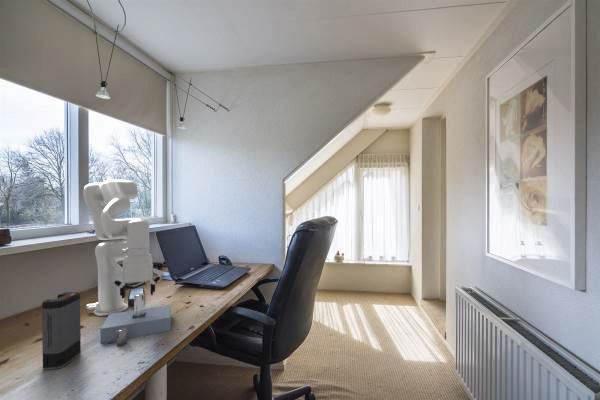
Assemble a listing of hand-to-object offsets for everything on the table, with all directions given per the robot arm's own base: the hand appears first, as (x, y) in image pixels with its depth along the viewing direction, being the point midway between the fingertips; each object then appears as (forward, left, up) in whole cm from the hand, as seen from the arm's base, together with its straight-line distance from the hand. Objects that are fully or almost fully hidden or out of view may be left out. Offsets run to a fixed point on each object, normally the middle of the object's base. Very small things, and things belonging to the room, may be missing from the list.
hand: (138, 295), depth 107 cm
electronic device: (-19, -16, -13) cm, 28 cm away
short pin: (-4, -12, -13) cm, 18 cm away
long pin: (0, -1, -13) cm, 13 cm away
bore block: (0, -1, -13) cm, 13 cm away
